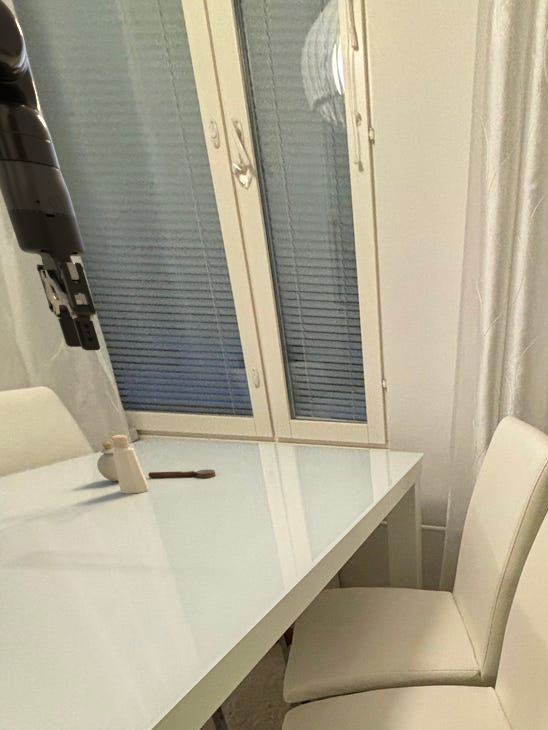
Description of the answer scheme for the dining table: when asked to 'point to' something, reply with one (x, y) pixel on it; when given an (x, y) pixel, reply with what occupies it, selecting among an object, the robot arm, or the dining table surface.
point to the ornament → (107, 462)
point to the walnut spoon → (183, 474)
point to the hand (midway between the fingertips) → (83, 348)
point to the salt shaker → (128, 467)
